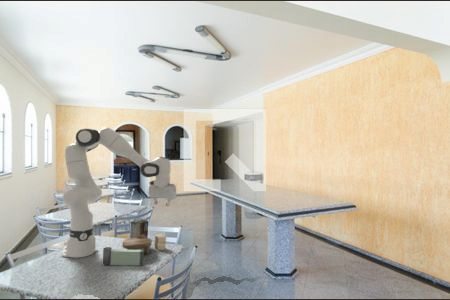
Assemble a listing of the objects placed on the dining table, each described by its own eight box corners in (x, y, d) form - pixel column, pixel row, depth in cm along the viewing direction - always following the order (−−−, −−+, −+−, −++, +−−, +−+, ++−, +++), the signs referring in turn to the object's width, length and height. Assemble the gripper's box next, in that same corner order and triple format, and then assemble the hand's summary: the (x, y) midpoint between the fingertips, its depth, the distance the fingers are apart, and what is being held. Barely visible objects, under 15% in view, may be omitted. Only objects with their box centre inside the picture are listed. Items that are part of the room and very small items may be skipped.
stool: (118, 253, 162) (119, 239, 162) (145, 249, 171) (145, 235, 172) (127, 262, 149) (127, 247, 149) (155, 257, 159) (156, 243, 159)
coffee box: (141, 244, 181) (142, 219, 181) (147, 246, 177) (148, 220, 177) (129, 247, 173) (130, 221, 173) (135, 249, 169) (136, 223, 170)
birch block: (154, 248, 173) (155, 235, 174) (161, 246, 176) (162, 234, 177) (157, 250, 169) (158, 237, 170) (165, 249, 172) (165, 236, 173)
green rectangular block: (101, 265, 144) (102, 249, 144) (104, 262, 148) (105, 247, 148) (141, 265, 145) (142, 250, 145) (143, 262, 149) (144, 247, 149)
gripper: (179, 183, 172) (178, 206, 171) (154, 181, 181) (153, 202, 181) (172, 184, 166) (171, 207, 166) (147, 181, 176) (146, 203, 176)
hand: (161, 205), depth 174 cm, fingers open, 8 cm apart
